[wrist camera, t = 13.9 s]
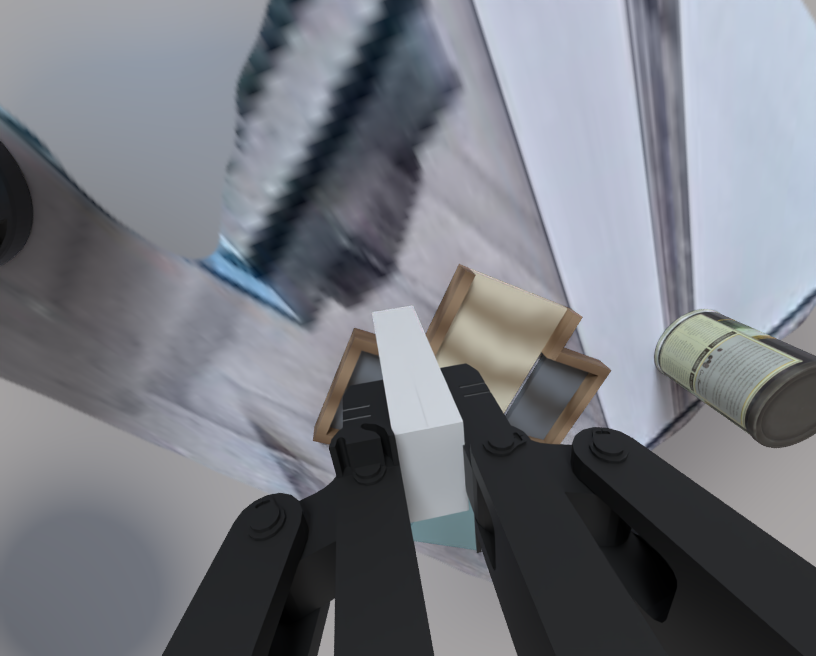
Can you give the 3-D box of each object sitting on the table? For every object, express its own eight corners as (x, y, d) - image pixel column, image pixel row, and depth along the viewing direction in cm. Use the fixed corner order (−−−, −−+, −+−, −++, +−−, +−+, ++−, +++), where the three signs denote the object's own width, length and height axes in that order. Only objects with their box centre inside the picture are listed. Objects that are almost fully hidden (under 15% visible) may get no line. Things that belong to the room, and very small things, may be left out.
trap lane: (390, 236, 39) (395, 246, 35) (620, 328, 48) (643, 343, 45) (304, 451, 49) (301, 475, 45) (509, 493, 58) (520, 516, 55)
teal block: (419, 409, 48) (439, 479, 38) (481, 425, 50) (514, 494, 40) (392, 462, 51) (404, 539, 41) (452, 475, 53) (476, 550, 44)
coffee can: (732, 299, 49) (867, 352, 36) (719, 365, 53) (835, 433, 41) (656, 319, 48) (766, 380, 36) (650, 385, 53) (745, 459, 40)
